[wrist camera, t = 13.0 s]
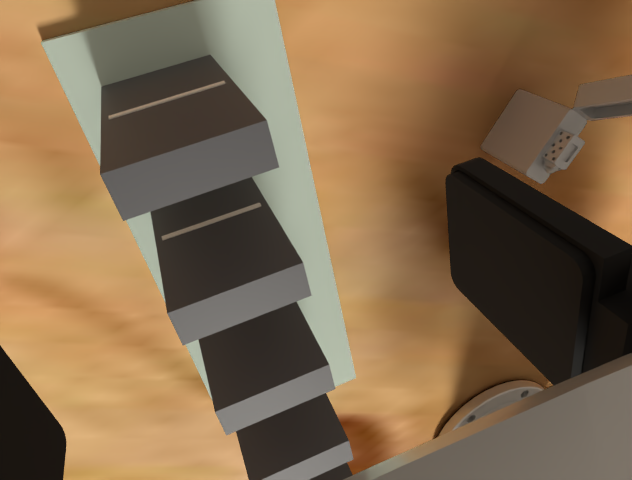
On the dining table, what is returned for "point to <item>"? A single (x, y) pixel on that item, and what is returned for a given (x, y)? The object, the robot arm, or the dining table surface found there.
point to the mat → (260, 88)
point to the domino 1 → (179, 136)
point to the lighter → (553, 126)
